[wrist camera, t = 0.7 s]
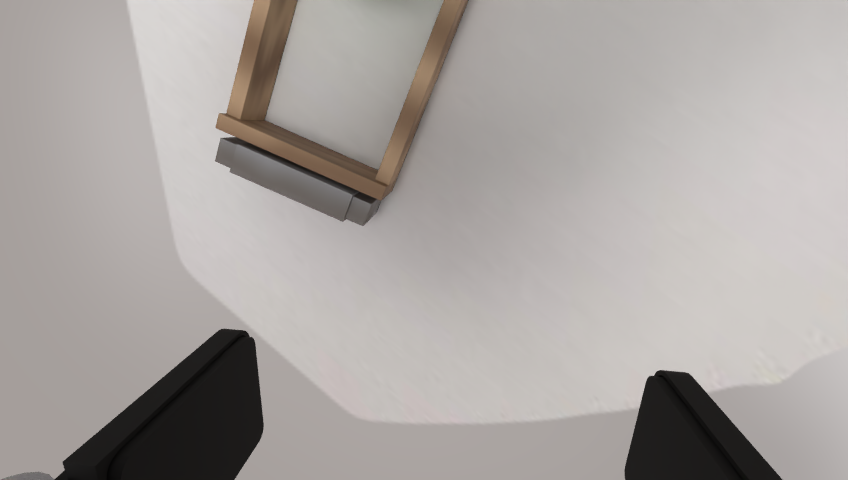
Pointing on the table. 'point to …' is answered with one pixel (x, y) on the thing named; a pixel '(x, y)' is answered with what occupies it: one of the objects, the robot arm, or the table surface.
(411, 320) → the table surface
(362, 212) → the bay
